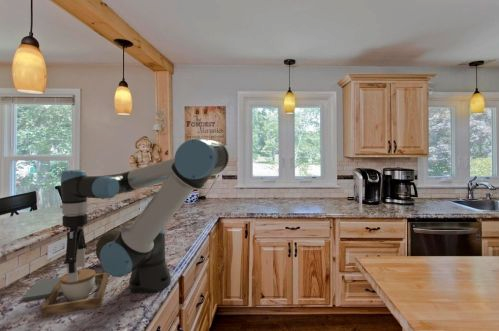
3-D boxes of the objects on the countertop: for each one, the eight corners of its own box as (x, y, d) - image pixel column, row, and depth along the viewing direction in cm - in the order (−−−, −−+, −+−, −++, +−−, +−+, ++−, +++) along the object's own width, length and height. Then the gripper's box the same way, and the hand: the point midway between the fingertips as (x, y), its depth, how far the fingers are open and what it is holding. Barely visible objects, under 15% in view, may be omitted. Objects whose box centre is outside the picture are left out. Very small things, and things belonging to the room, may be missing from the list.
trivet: (81, 276, 120) (81, 274, 120) (73, 293, 106) (73, 289, 106) (37, 283, 115) (37, 280, 115) (23, 301, 101) (23, 297, 101)
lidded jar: (101, 288, 109) (100, 264, 109) (86, 303, 98) (85, 276, 98) (72, 289, 109) (71, 265, 108) (54, 304, 98) (52, 277, 98)
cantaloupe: (122, 269, 127) (120, 235, 126) (90, 270, 127) (88, 236, 126) (135, 258, 141) (134, 227, 140) (106, 258, 141) (105, 227, 140)
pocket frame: (108, 279, 117) (107, 272, 117) (100, 306, 96) (100, 297, 96) (60, 286, 111) (60, 279, 111) (41, 317, 90) (41, 308, 90)
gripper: (70, 208, 113) (72, 262, 114) (52, 223, 89) (54, 291, 90) (92, 207, 115) (94, 259, 116) (80, 221, 92) (82, 286, 93)
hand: (77, 273), depth 103 cm, fingers open, 13 cm apart
